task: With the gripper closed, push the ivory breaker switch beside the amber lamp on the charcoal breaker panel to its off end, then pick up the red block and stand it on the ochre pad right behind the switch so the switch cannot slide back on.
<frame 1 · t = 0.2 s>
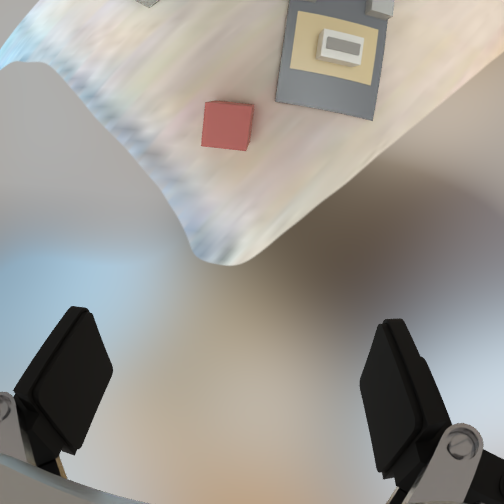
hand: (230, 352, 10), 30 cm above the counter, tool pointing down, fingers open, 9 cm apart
breaker panel: (334, 30, 28), on the counter
red block: (232, 121, 34), on the counter
breaker switch: (339, 48, 26), point 4 cm above the counter, slide at 7.0 cm
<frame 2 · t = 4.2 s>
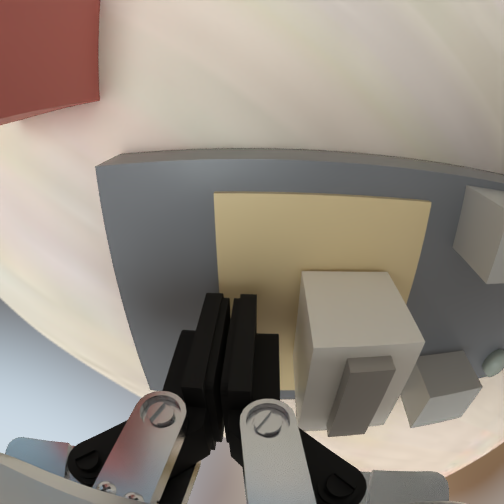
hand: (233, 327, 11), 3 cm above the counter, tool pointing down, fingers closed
breaker panel: (366, 282, 13), on the counter
red block: (54, 59, 9), on the counter
breaker switch: (347, 358, 9), point 4 cm above the counter, slide at 5.7 cm, touching gripper
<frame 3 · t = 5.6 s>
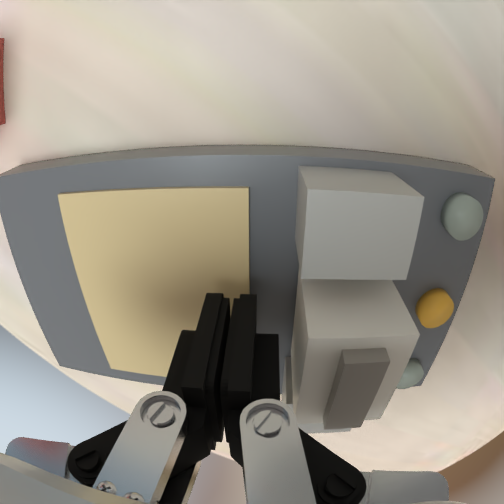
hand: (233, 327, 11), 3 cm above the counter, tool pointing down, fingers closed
breaker panel: (229, 275, 14), on the counter
breaker switch: (344, 351, 10), point 4 cm above the counter, slide at -0.2 cm, touching gripper
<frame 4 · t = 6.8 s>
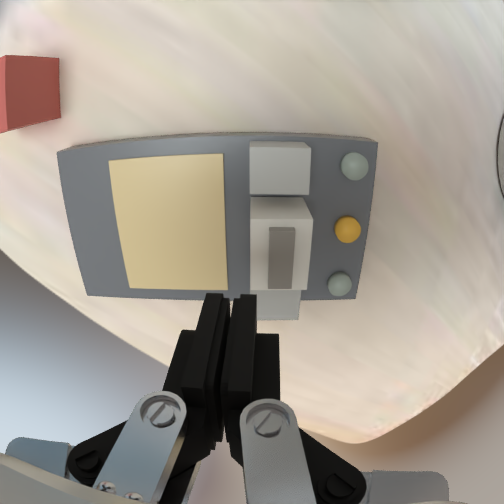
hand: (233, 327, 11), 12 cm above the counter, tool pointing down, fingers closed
breaker panel: (212, 215, 21), on the counter
red block: (36, 94, 17), on the counter
breaker switch: (278, 243, 17), point 4 cm above the counter, slide at 0.0 cm
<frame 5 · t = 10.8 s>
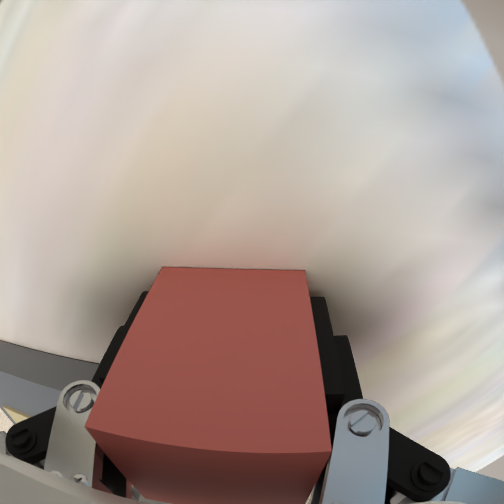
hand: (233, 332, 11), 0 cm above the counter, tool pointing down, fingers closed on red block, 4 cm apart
breaker panel: (102, 447, 17), on the counter
red block: (234, 324, 11), on the counter, touching gripper
when the fingers open (4 cm above the counter, at t = 16.3 s): red block stays where it is, resting on breaker panel.
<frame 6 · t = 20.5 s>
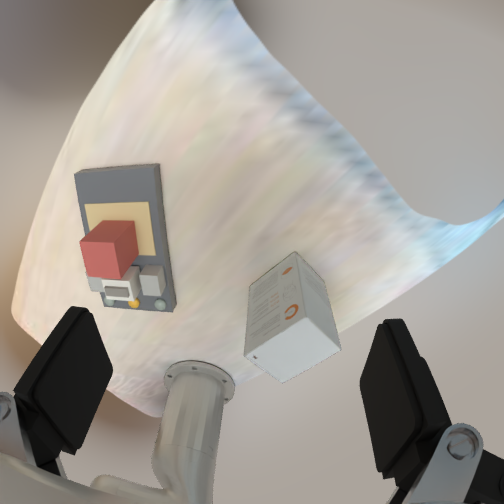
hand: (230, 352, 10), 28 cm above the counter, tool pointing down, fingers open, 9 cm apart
breaker panel: (128, 240, 40), on the counter
red block: (120, 237, 37), point 2 cm above the counter, touching breaker panel
breaker switch: (121, 283, 38), point 4 cm above the counter, slide at 0.0 cm
small box: (287, 282, 42), on the counter
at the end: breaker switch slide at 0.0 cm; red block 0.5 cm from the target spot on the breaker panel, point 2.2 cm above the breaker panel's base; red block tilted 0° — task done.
